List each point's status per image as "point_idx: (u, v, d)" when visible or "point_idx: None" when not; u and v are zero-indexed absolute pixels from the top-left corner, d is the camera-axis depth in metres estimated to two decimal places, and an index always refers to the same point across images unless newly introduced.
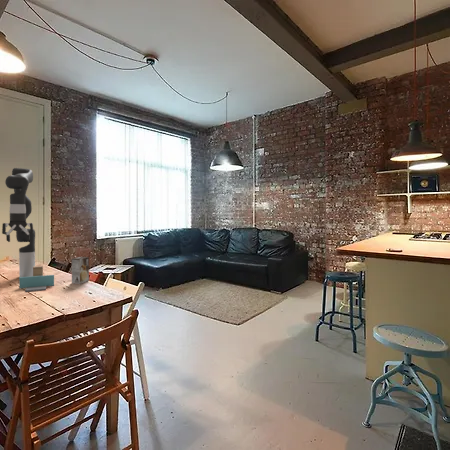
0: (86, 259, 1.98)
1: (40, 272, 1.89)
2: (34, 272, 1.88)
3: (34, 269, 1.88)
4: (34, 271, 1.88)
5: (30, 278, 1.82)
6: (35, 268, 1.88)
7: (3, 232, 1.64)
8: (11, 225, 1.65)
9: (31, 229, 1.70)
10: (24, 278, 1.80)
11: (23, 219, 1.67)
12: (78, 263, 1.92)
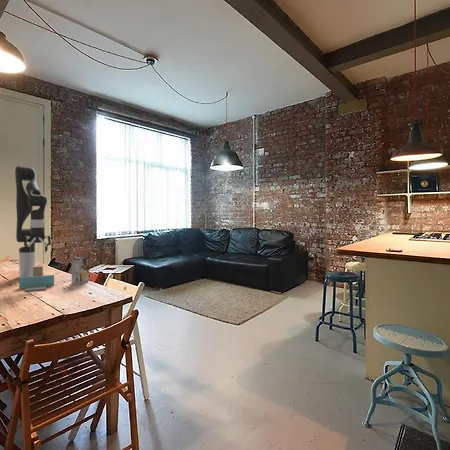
0: (86, 259, 1.98)
1: (40, 272, 1.89)
2: (34, 272, 1.88)
3: (34, 269, 1.88)
4: (34, 271, 1.88)
5: (30, 278, 1.82)
6: (35, 268, 1.88)
7: (25, 244, 1.86)
8: (32, 238, 1.87)
9: (49, 241, 1.92)
10: (24, 278, 1.80)
11: (42, 232, 1.89)
12: (78, 263, 1.92)
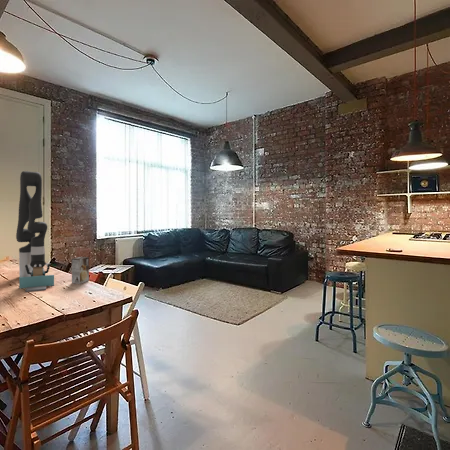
0: (86, 259, 1.98)
1: (40, 272, 1.89)
2: (34, 272, 1.88)
3: (34, 269, 1.88)
4: (34, 271, 1.88)
5: (30, 278, 1.82)
6: (35, 268, 1.88)
7: (28, 272, 1.87)
8: (32, 266, 1.88)
9: (47, 269, 1.92)
10: (24, 278, 1.80)
11: (42, 259, 1.89)
12: (78, 263, 1.92)
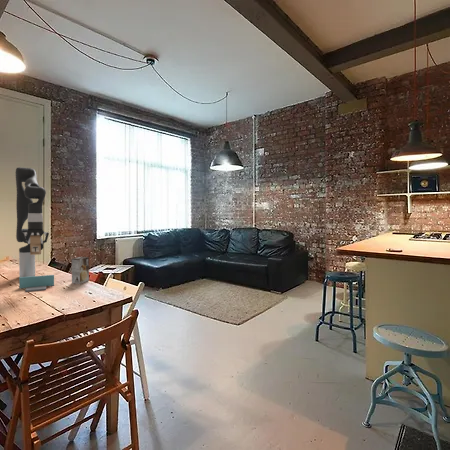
0: (86, 259, 1.98)
1: (38, 241, 1.75)
2: (31, 241, 1.73)
3: (31, 237, 1.73)
4: (31, 240, 1.73)
5: (30, 278, 1.82)
6: (33, 236, 1.73)
7: (25, 241, 1.73)
8: (29, 234, 1.74)
9: (46, 238, 1.78)
10: (24, 278, 1.80)
11: (40, 227, 1.75)
12: (78, 263, 1.92)
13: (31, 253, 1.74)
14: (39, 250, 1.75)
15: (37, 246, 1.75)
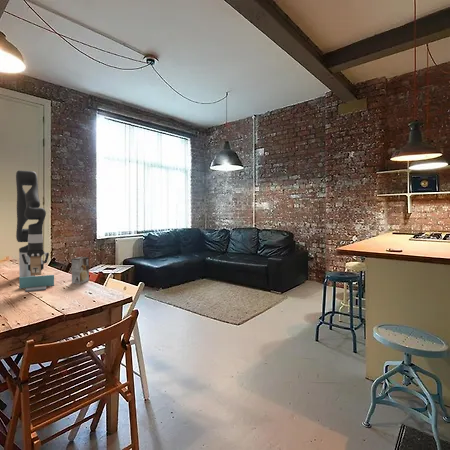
0: (86, 259, 1.98)
1: (38, 262, 1.75)
2: (32, 262, 1.74)
3: (32, 258, 1.74)
4: (32, 261, 1.74)
5: (30, 278, 1.82)
6: (33, 257, 1.74)
7: (25, 262, 1.73)
8: (29, 255, 1.74)
9: (46, 259, 1.78)
10: (24, 278, 1.80)
11: (40, 248, 1.76)
12: (78, 263, 1.92)
13: (31, 274, 1.74)
14: (39, 271, 1.76)
15: (38, 267, 1.75)
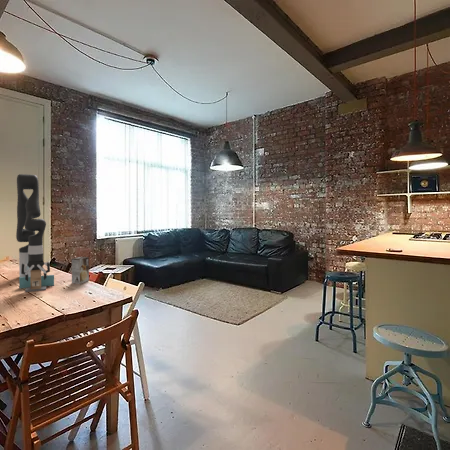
0: (86, 259, 1.98)
1: (38, 275, 1.76)
2: (32, 275, 1.74)
3: (32, 272, 1.74)
4: (32, 274, 1.74)
5: (30, 278, 1.82)
6: (33, 271, 1.75)
7: (22, 272, 1.73)
8: (29, 265, 1.75)
9: (48, 268, 1.79)
10: (24, 278, 1.80)
11: (41, 259, 1.76)
12: (78, 263, 1.92)
13: (31, 288, 1.75)
14: (39, 284, 1.76)
15: (38, 280, 1.76)
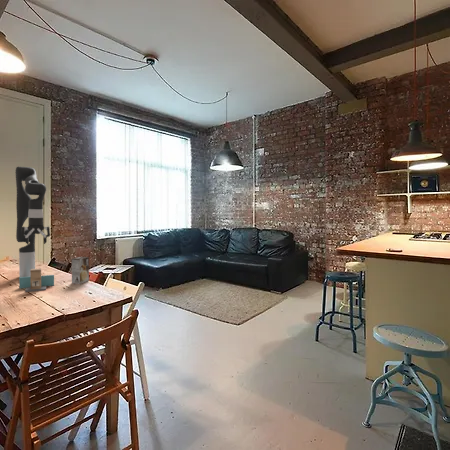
0: (86, 259, 1.98)
1: (38, 275, 1.76)
2: (32, 275, 1.74)
3: (32, 272, 1.74)
4: (32, 274, 1.74)
5: (30, 278, 1.82)
6: (33, 271, 1.75)
7: (22, 235, 1.76)
8: (30, 229, 1.77)
9: (48, 232, 1.81)
10: (24, 278, 1.80)
11: (41, 223, 1.78)
12: (78, 263, 1.92)
13: (31, 288, 1.75)
14: (39, 284, 1.76)
15: (38, 280, 1.76)
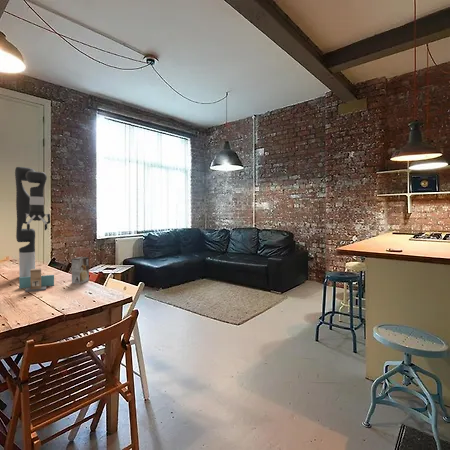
0: (86, 259, 1.98)
1: (38, 275, 1.76)
2: (32, 275, 1.74)
3: (32, 272, 1.74)
4: (32, 274, 1.74)
5: (30, 278, 1.82)
6: (33, 271, 1.75)
7: (24, 222, 1.82)
8: (31, 215, 1.84)
9: (48, 219, 1.88)
10: (24, 278, 1.80)
11: (42, 210, 1.85)
12: (78, 263, 1.92)
13: (31, 288, 1.75)
14: (39, 284, 1.76)
15: (38, 280, 1.76)
